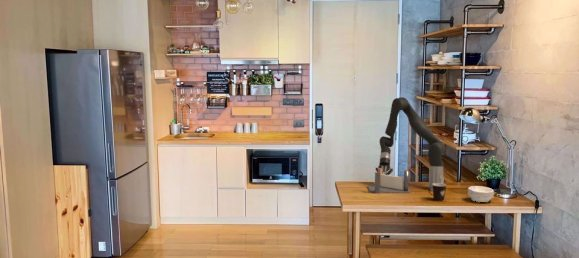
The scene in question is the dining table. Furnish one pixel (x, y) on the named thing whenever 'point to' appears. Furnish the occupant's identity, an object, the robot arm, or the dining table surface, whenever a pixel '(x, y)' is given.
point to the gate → (391, 181)
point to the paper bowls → (480, 193)
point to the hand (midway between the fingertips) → (383, 179)
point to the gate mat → (386, 190)
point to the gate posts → (377, 181)
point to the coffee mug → (438, 191)
